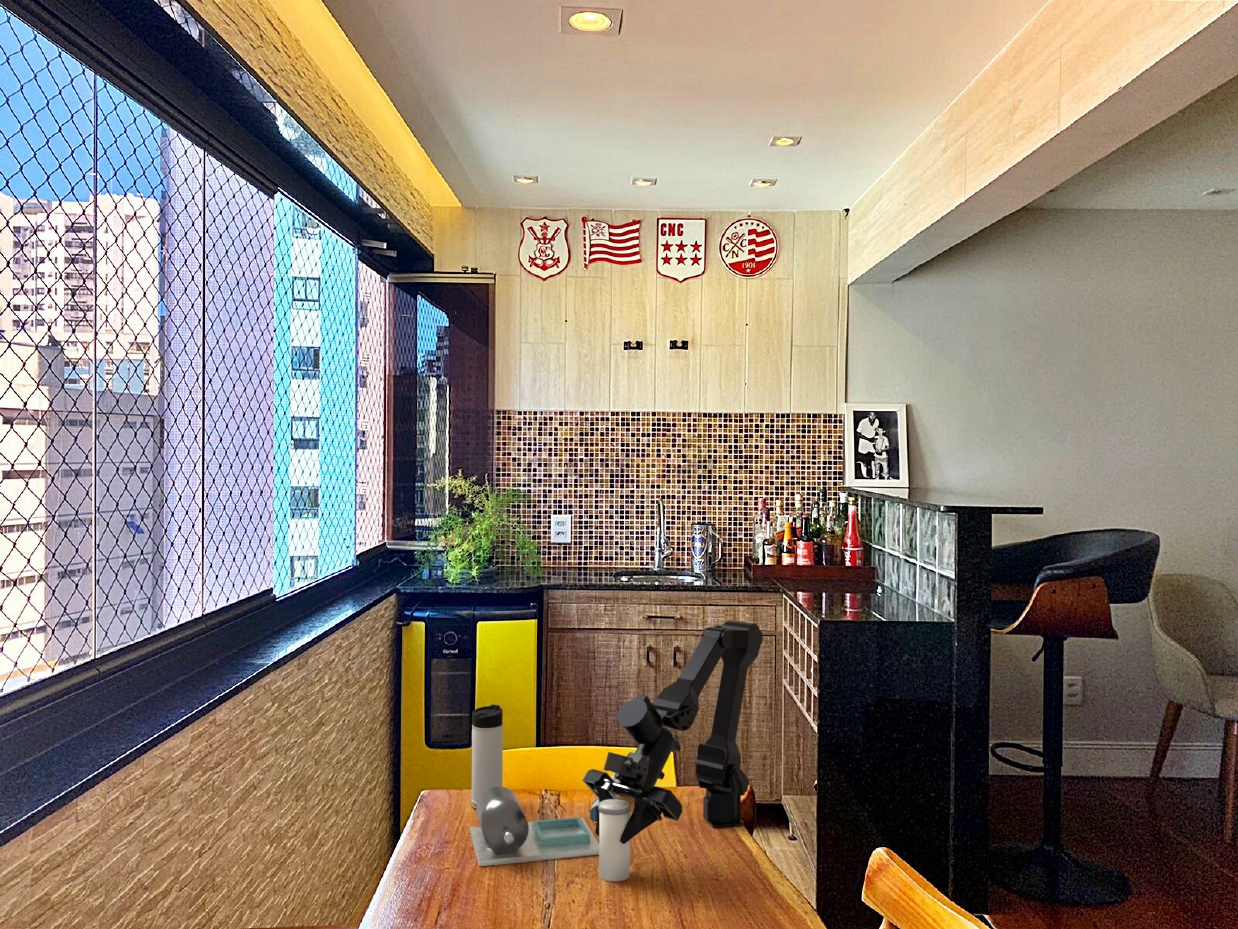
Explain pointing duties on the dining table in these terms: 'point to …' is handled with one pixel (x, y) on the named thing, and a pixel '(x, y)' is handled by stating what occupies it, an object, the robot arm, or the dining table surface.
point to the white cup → (613, 840)
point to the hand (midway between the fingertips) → (609, 838)
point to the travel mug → (486, 750)
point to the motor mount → (525, 833)
